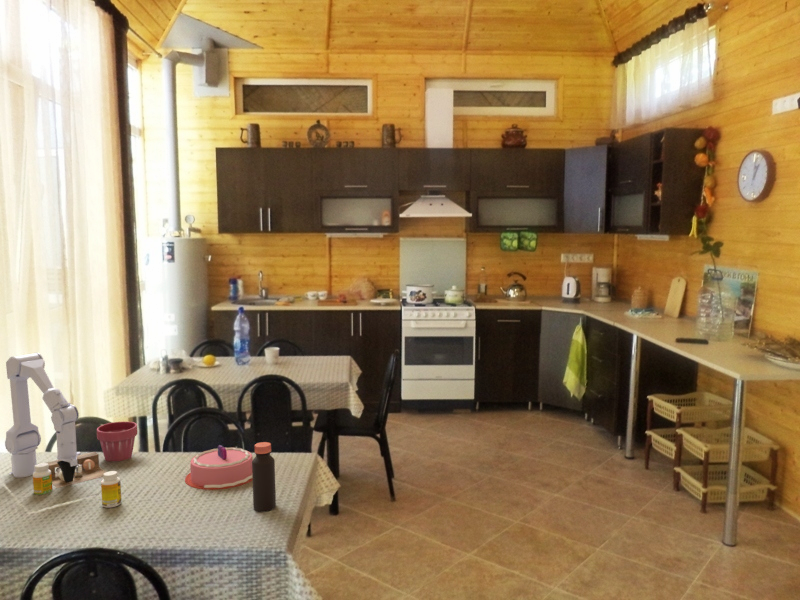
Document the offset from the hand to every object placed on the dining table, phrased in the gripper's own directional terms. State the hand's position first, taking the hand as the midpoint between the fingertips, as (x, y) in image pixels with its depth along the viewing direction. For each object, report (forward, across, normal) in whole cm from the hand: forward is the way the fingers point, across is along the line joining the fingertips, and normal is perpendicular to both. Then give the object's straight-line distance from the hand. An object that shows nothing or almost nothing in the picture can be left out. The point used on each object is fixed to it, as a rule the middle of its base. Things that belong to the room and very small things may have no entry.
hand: (68, 481), depth 213 cm
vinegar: (+2, -62, -38) cm, 73 cm away
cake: (+2, -28, -42) cm, 50 cm away
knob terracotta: (+1, +12, -9) cm, 15 cm away
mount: (+2, +7, -5) cm, 9 cm away
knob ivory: (+1, +7, 0) cm, 7 cm away
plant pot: (+2, +16, -22) cm, 27 cm away
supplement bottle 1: (+2, 0, +8) cm, 8 cm away
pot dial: (+1, +5, -4) cm, 7 cm away
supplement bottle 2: (+2, -26, -5) cm, 26 cm away
